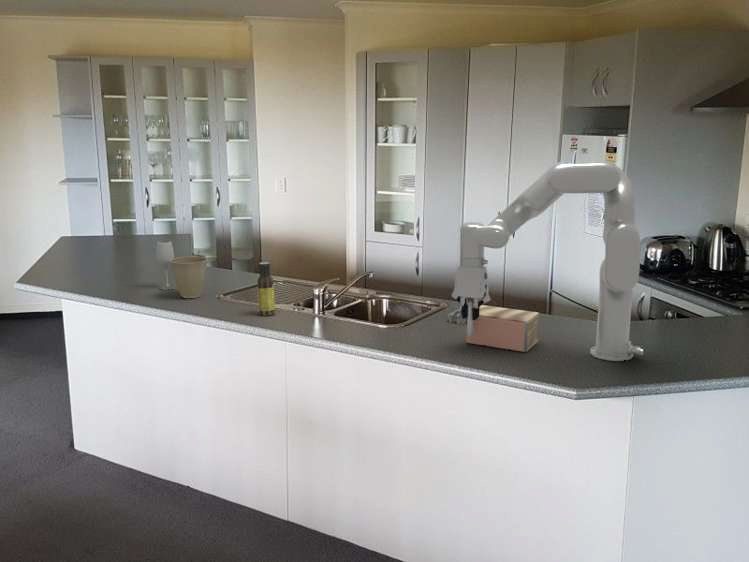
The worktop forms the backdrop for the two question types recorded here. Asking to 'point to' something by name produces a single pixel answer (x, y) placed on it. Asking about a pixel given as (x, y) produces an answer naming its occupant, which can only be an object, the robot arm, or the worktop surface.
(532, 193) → the robot arm
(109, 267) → the worktop surface
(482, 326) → the door
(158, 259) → the wineglass
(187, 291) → the plant pot
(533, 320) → the cabinet
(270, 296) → the sauce bottle
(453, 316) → the egg carton
